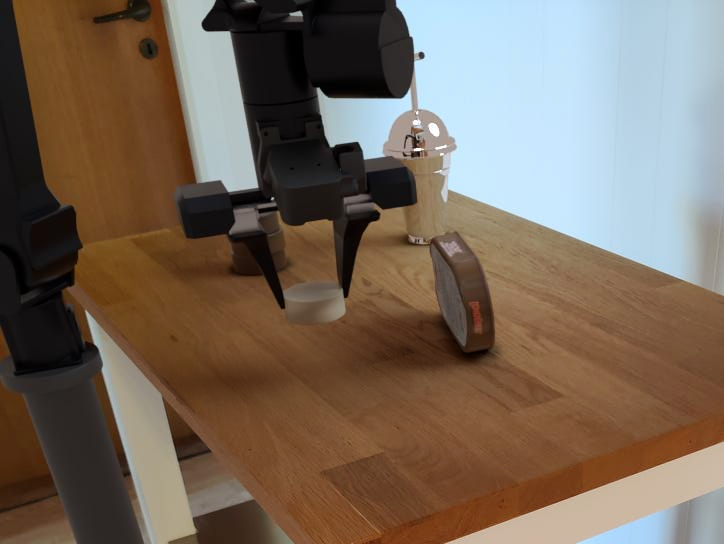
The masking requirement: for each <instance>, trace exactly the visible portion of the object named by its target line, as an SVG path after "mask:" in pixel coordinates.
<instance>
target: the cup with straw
mask: <svg viewBox="0 0 724 544" xmlns="http://www.w3.org/2000/svg"><path fill="white" fill-rule="evenodd" d="M425 57H426V56H425V52H423V51H418V52H414V62H417V61H422V60H425ZM415 67H416V65H415V63H414V72H413V78H412V82H411V86H410V89H409V91H410V100H411V109H410V110H409V109H408V110H406V111H404V112H403V113H401V114H400V115H398V117H396V118H395V120H394V122H393V123H392V125H391V127H390V130H389V133H388V138H387V140H386V141H385V142H384V143H383V145H382V152H381V153H382V155H383V156H384V157H386V156H393V157H394V158H396V159H397V160H398V161H400V162H401V163H402V164H404V165H405V166H406V167H408V168H409V169H410V170H411V171H412V172H413V174H414V178H415V181H416V191H417V202H418V203H416V204H414V205H411V206H405V207H401V211H402V215H403V220H404V226H405V231H406V232H407V234H408V239H407V240H408V242H409V243H411V244H414V245H430V241H431V239H432V238H433V237H435V236H439V235H444V234H446V231H447V230H446V229H447V227H448V224H447V223H448V198H449V196H448V194H449V193H448V192H449V174H450V172H451V171H450V169H451V164H452V163H451V160H452V157H451V155H452V153H453V152H455V151H456V150H457V148H458V145H457V143H456V138H455V137H453V136H452V135H450V133H449V131H448V128H447V126H446V124H445V122H444V121H443V119H442V118H440V116H439V115H437V114H436V113H435V112H433V111H430V110H428V109H423V108H419V100H418V89H417V88H418V87H417V78H416V68H415Z"/></svg>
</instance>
